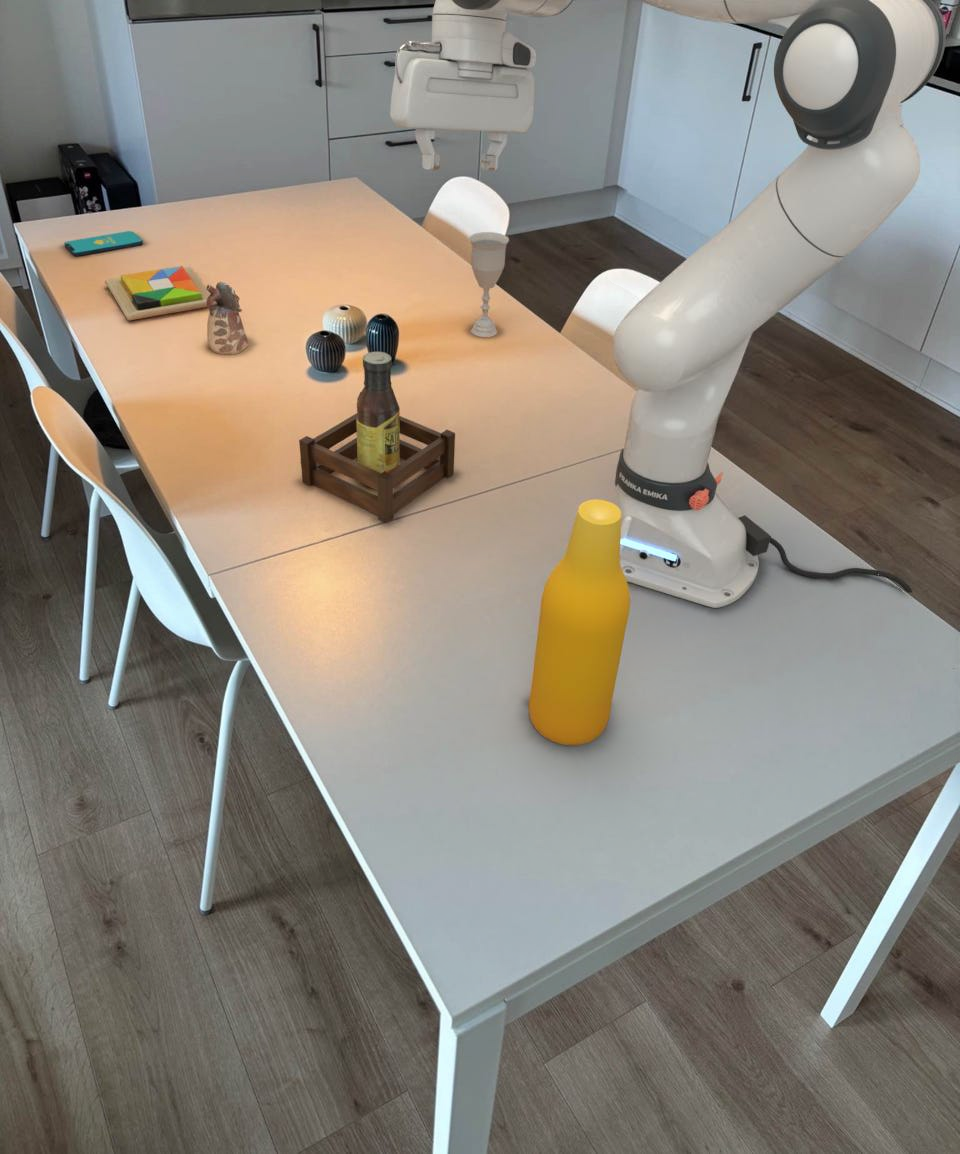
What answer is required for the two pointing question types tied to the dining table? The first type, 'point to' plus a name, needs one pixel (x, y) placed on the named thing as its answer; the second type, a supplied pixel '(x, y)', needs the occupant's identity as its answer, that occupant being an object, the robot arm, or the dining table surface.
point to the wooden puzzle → (159, 292)
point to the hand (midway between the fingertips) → (460, 169)
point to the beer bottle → (581, 631)
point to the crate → (386, 503)
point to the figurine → (225, 321)
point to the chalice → (487, 273)
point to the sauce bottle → (378, 416)
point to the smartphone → (103, 243)
